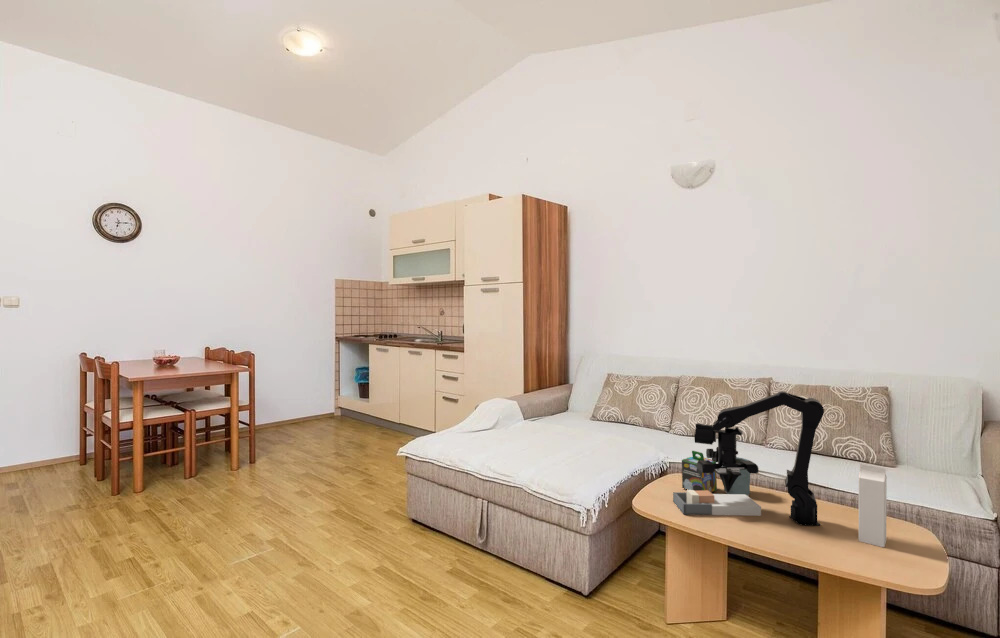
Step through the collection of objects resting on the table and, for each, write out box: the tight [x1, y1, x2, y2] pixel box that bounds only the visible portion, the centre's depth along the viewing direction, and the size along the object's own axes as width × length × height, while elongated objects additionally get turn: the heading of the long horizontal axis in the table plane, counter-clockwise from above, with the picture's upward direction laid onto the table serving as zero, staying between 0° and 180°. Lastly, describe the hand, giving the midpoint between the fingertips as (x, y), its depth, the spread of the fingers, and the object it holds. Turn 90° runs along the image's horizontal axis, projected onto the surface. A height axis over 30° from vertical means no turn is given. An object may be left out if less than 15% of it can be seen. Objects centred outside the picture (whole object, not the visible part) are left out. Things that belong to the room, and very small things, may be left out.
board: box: [702, 493, 762, 517], centre depth 167 cm, size 16×11×3 cm
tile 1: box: [685, 490, 699, 504], centre depth 167 cm, size 5×5×2 cm
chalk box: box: [681, 450, 718, 493], centre depth 185 cm, size 9×9×15 cm
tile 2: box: [695, 490, 714, 503], centre depth 167 cm, size 5×5×2 cm
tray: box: [672, 491, 713, 516], centre depth 167 cm, size 9×11×4 cm
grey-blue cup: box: [722, 456, 751, 497], centre depth 182 cm, size 10×10×12 cm
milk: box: [858, 464, 888, 548], centre depth 143 cm, size 6×6×22 cm
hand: (727, 491), depth 167 cm, fingers closed
